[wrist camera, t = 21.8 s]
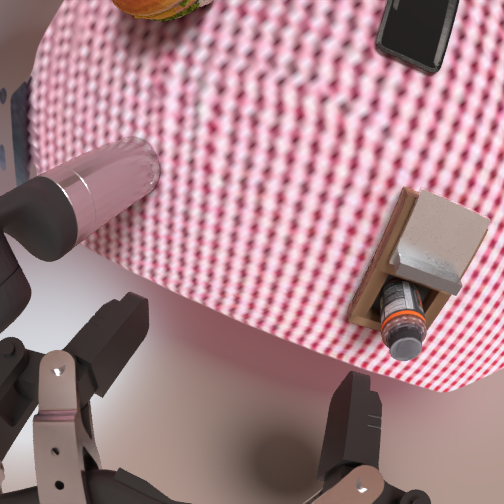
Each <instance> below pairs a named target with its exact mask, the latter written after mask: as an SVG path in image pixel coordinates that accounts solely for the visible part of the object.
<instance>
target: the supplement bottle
mask: <svg viewBox="0 0 504 504" xmlns="http://www.w3.org/2000/svg"><path fill="white" fill-rule="evenodd" d="M380 317H381V336H382V340H383V342H384V344H385V345H386V346H387V347H388V348H390V354H391V356H392V357H393V358H394V359H396V360H399V361H408V360H411V359H413V358H415V357H417V356H418V355H419V354H420V352H421V350H422V342H423V340H424V339H425V337H426V334H427V326H426V320H425V315H424V311H423V306H422V301H421V296H420V292H419V290H418V287H417V285H416V284H415V283H414V282H411V281H408V280H405V279H402V278H396V279H393V280H391V281H389V282H387V283H386V284H385V285H384V286H383V288H382V290H381V292H380Z"/></svg>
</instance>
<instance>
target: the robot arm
mask: <svg viewBox="0 0 504 504" xmlns="http://www.w3.org/2000/svg"><path fill="white" fill-rule="evenodd" d="M159 176H160V166H159V161H158V158H157V155H156V153H155V152H154V150H153V149H152V147H151V146H150V145H149V144H148V143H146V142H145V141H144V140H142V139H140V138H136V137H127V138H124V139H121V140H119V141H116V142H112V143H109V144H107V145H104V146H102V147H99V148H97V149H94V150H92V151H89V152H87V153H85V154H82V155H80V156H78V157H75V158H73V159H71V160H70V161H68V162H65V163H63V164H61V165H59V166H57V167H55V168H53V169H51V170H49V171H47V172H45V173H43V174H40V175H38V176H36V177H35V178H33V179H31V180H29V181H27V182H25V183H23V184H22V185H20V186H18V187H16V188H15V189H13V190H11V191H9V192H7V193H6V194H4V195H2V196H0V333H1V332H3V331H4V330H5V329H6V328H7V327H8V326H9V325H10V324H11V323H12V322H14V321H15V319H16V318H17V317H18V316H19V315H20V314H21V313H22V311H23V310H24V309H25V307H26V306H27V304H28V303H29V301H30V298H31V288H30V285H29V283H28V281H27V279H26V277H25V275H24V273H23V271H22V269H21V267H20V265H19V264H18V261H17V259H16V257H15V255H14V254H13V251H12V249H11V247H10V245H9V243H8V241H7V239H6V237H5V236H4V233H3V232H5V233H7V234H9V235H10V236H12V237H13V238H15V239H16V240H17V241H18V242H19V243H20V244H22V246H23V247H25V249H26V250H27V251H29V252H30V253H31V254H32V255H33V256H35V257H37V258H38V259H40V260H43V261H47V262H52V261H55V260H58V259H60V258H61V257H63V256H64V255H65V254H66V253H68V252H69V251H70V250H72V248H74V247H75V246H76V245H78V244H79V243H80V242H82V241H83V240H84V239H86V238H87V237H88V236H89V235H91V234H92V233H93V232H95V231H96V230H97V229H99V228H100V227H101V226H103V225H104V224H106V223H107V222H108V221H110V220H111V219H112V218H114V217H115V216H117V215H118V214H119V213H121V212H122V211H124V210H125V209H127V208H128V207H129V206H131V205H132V204H134V203H135V202H137V201H138V200H140V199H141V198H143V197H144V196H145V195H147V194H148V193H150V192H151V191H152V190H153V189H154V188H155V187H156V185H157V183H158V180H159ZM148 329H149V307H148V299H146V298H144V297H142V296H139V295H137V294H135V293H132V292H128V293H127V294H126V295H125V296H124V297H123V299H121V301H118V300H116V299H114V300H112V301H110V302H108V303H106V304H104V305H103V306H102V307H101V308H100V309H99V310H98V311H97V312H96V313H95V315H94V316H93V317H92V318H91V319H90V320H89V322H88V323H86V324H85V325H84V327H83V328H82V329H81V330H80V331H79V332H78V333H77V334H76V335H75V337H74V338H73V339H72V340H71V341H70V342H69V343H68V345H67V346H66V347H65V348H64V349H62V350H54V351H51V352H49V353H47V354H42V353H39V352H35V351H31V350H27V349H25V347H24V345H23V343H22V341H20V340H19V339H18V338H15V337H7V338H5V339H3V340H1V341H0V504H190V503H184V502H177V501H173V500H171V499H170V498H168V497H167V496H165V495H164V494H163V493H161V492H160V491H159V490H157V489H156V488H154V487H153V486H152V485H151V484H150V483H148V482H147V481H145V480H143V479H141V478H139V477H137V476H135V475H133V474H131V473H129V472H127V471H125V470H123V469H121V468H119V469H118V471H112V470H103V469H102V466H101V461H100V456H99V453H98V450H97V447H96V443H95V438H94V431H93V424H92V414H91V405H90V399H91V397H92V396H93V394H94V393H95V394H97V395H99V396H100V397H102V398H103V397H104V395H105V393H106V392H107V390H108V389H109V388H110V386H111V385H112V384H113V382H114V381H115V379H116V378H117V376H118V375H119V374H120V372H121V371H122V369H123V368H124V366H125V365H126V364H127V362H128V361H129V359H130V358H131V357H132V355H133V354H134V352H135V351H136V350H137V348H138V347H139V345H140V344H141V343H142V341H143V340H144V338H145V337H146V335H147V332H148ZM38 404H39V411H38V414H37V415H34V418H33V442H34V443H33V444H34V458H35V469H36V479H37V486H34V487H30V488H26V489H22V490H18V491H13V492H9V493H4V494H3V493H2V488H1V483H2V481H3V480H4V478H5V475H4V467H3V464H2V460H3V459H4V457H5V455H6V454H7V452H8V450H9V449H10V447H11V445H12V444H13V442H14V441H15V439H16V437H17V436H18V434H19V433H20V431H21V430H22V428H23V426H24V425H25V423H26V422H27V420H28V419H29V417H30V416H31V414H32V413H33V411H34V410H35V408H36V407H37V405H38ZM381 416H382V403H381V401H380V398H379V395H378V393H377V392H374V391H370V376H369V375H365V374H361V373H357V372H354V371H350V372H349V373H348V374H347V376H346V377H345V379H344V380H343V381H342V383H341V384H340V386H339V387H338V388H337V390H336V391H335V392H334V394H333V397H332V399H331V402H330V406H329V412H328V418H327V425H326V430H325V435H324V441H323V446H322V451H321V457H320V461H319V466H318V471H317V475H316V479H317V480H322V481H324V485H323V489H322V490H320V491H319V492H318V493H316V494H315V495H314V496H313V497H311V498H310V499H309V500H307V501H306V502H305V503H303V504H431V501H430V498H429V496H428V495H427V494H426V493H425V492H424V491H421V490H411V491H409V492H407V493H406V492H404V491H402V490H400V489H398V488H396V487H394V486H391V485H390V484H388V483H387V482H385V480H384V479H383V476H382V474H381V473H380V471H379V467H378V461H379V450H380V436H381V429H380V428H381Z"/></svg>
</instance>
